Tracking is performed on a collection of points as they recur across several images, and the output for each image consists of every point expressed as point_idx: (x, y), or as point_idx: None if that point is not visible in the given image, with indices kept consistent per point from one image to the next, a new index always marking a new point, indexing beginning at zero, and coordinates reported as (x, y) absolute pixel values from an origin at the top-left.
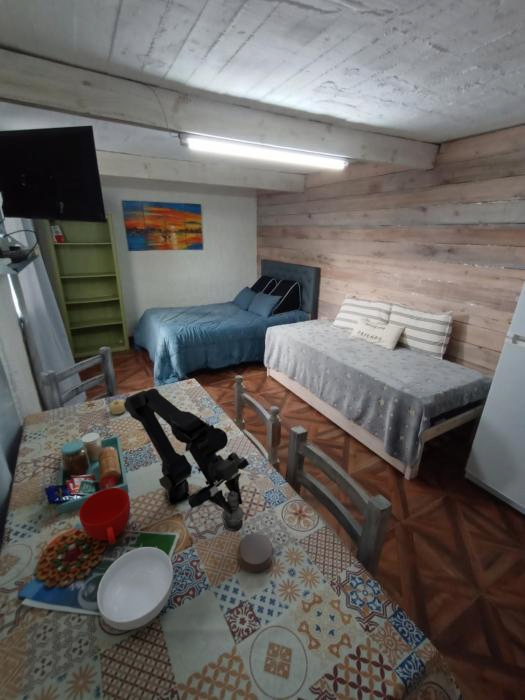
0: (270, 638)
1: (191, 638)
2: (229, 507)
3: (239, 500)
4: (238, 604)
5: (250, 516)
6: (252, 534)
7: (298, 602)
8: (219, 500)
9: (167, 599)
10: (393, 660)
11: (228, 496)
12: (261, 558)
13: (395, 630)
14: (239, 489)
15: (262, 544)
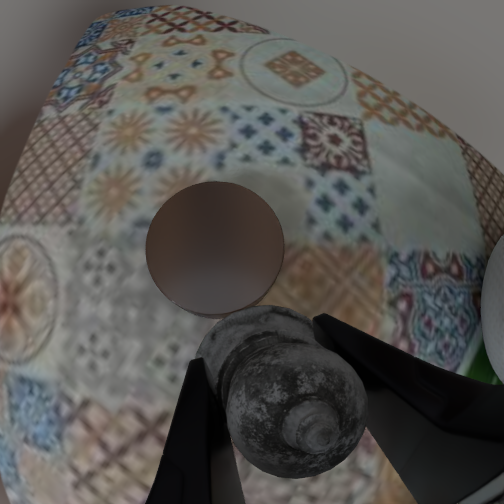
0: (292, 90)
1: (438, 179)
2: (349, 340)
3: (209, 384)
4: (331, 170)
5: (144, 412)
6: (190, 302)
7: (194, 103)
8: (476, 384)
9: (500, 240)
10: (140, 17)
11: (364, 415)
12: (219, 195)
13: (102, 33)
14: (160, 463)
15: (181, 238)
